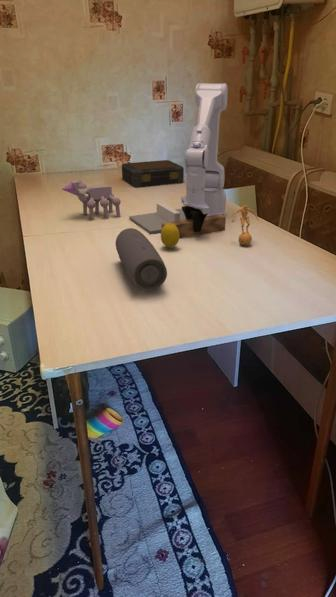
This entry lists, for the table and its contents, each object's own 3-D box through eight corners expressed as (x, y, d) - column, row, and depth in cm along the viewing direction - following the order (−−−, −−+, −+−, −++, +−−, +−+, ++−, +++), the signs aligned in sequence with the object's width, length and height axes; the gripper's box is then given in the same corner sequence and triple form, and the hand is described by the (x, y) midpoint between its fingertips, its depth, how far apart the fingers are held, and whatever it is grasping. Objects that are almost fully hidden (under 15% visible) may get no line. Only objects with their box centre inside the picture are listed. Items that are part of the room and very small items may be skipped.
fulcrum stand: (183, 211, 166) (183, 198, 164) (207, 224, 152) (208, 210, 149) (129, 219, 157) (128, 205, 155) (150, 234, 143) (150, 219, 141)
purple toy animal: (67, 224, 152) (62, 184, 146) (62, 217, 161) (57, 179, 155) (122, 217, 159) (120, 179, 153) (114, 211, 168) (111, 174, 162)
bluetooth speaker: (169, 293, 106) (169, 254, 101) (132, 298, 104) (130, 259, 99) (146, 258, 125) (146, 224, 121) (114, 261, 123) (112, 227, 118)
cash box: (168, 175, 223) (168, 159, 219) (184, 183, 206) (185, 166, 203) (120, 179, 214) (120, 163, 210) (134, 188, 198) (134, 171, 194)
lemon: (181, 246, 133) (181, 220, 130) (175, 252, 129) (176, 226, 125) (164, 244, 135) (164, 219, 131) (158, 250, 130) (157, 224, 127)
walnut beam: (219, 228, 149) (220, 213, 147) (225, 231, 147) (225, 216, 144) (161, 238, 140) (161, 223, 138) (166, 241, 138) (166, 226, 135)
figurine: (234, 248, 132) (236, 209, 126) (227, 241, 137) (230, 203, 132) (260, 246, 133) (264, 207, 128) (252, 239, 139) (256, 202, 133)
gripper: (173, 184, 141) (173, 225, 147) (196, 194, 129) (194, 238, 135) (192, 182, 143) (191, 222, 150) (216, 192, 132) (214, 234, 138)
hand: (194, 229), depth 143 cm, fingers closed on walnut beam, 4 cm apart
